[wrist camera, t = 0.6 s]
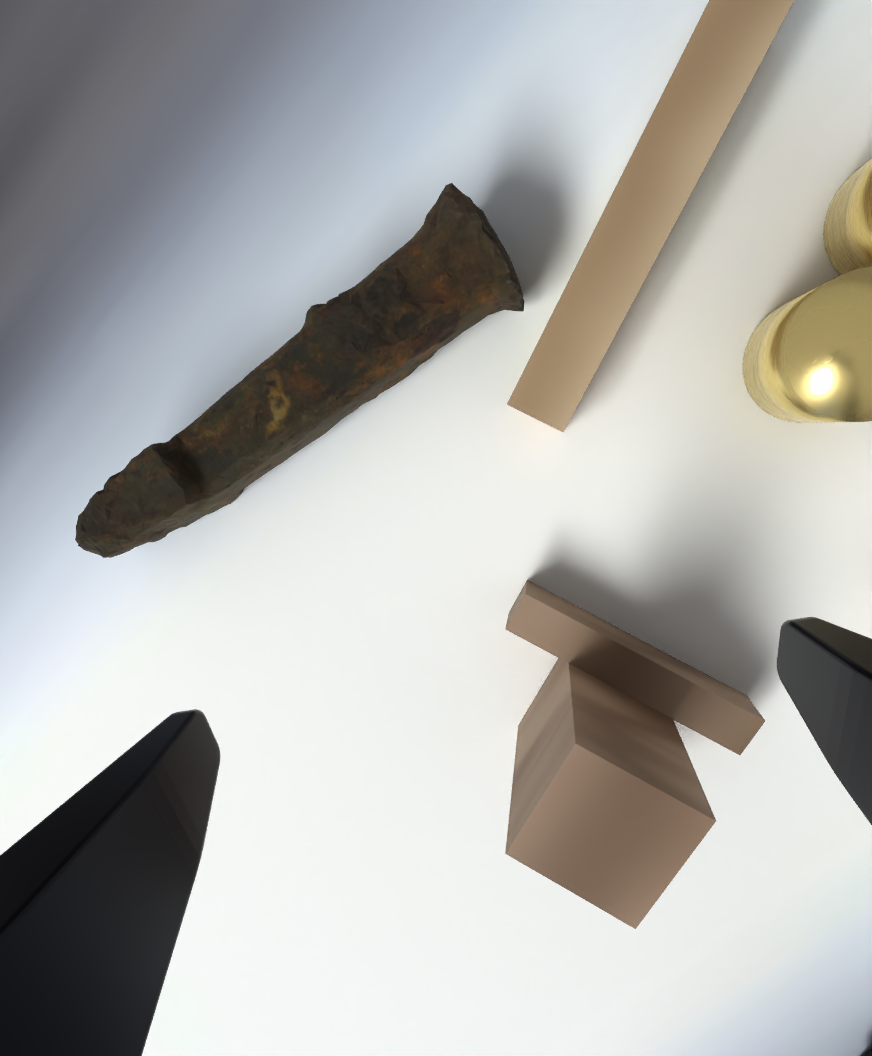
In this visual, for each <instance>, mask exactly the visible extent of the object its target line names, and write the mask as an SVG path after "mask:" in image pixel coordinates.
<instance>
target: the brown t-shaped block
mask: <svg viewBox="0 0 872 1056" xmlns="http://www.w3.org/2000/svg"><path fill="white" fill-rule="evenodd" d="M506 630H508V631H510V632H512V633H514V634H515V635H517V636H519V637H521V638H523V639H525V640H527V641H528V642H530V643H532V644H534V645H536V646H538V647H540V648H542V649H543V650H545V651H547V652H549V653H551V654H553V655H555V656H556V657H558V660H557V662H556V664H555V665H554V667H553V669H552V670H551V672H550V674H549V675H548V677H547V679H546V680H545V682H544V684H543V685H542V687H541V689H540V690H539V692H538V694H537V695H536V697H535V699H534V700H533V702H532V704H531V705H530V707H529V709H528V710H527V712H526V714H525V715H524V717H523V719H522V721H521V722H520V724H519V726H518V735H517V745H516V755H515V765H514V774H513V784H512V794H511V804H510V814H509V824H508V834H507V844H506V854H507V855H509V856H510V857H512V858H514V859H516V860H517V861H519V862H521V863H523V864H524V865H526V866H528V867H529V868H531V869H533V870H535V871H536V872H538V873H540V874H542V875H543V876H545V877H547V878H548V879H550V880H552V881H554V882H555V883H557V884H559V885H561V886H562V887H564V888H566V889H567V890H569V891H571V892H573V893H574V894H576V895H578V896H579V897H581V898H583V899H585V900H586V901H588V902H590V903H592V904H593V905H595V906H597V907H598V908H600V909H602V910H604V911H605V912H607V913H609V914H611V915H612V916H614V917H616V918H617V919H619V920H621V921H623V922H624V923H626V924H628V925H630V926H631V927H633V928H635V929H636V928H637V926H638V925H639V924H640V922H641V921H642V920H643V918H644V917H645V916H646V914H647V913H648V912H649V910H650V909H651V908H652V906H653V905H654V904H655V902H656V901H657V900H658V898H659V897H660V895H661V894H662V893H663V891H664V890H665V889H666V887H667V886H668V885H669V883H670V882H671V881H672V879H673V878H674V877H675V875H676V874H677V873H678V871H679V870H680V869H681V867H682V866H683V865H684V863H685V862H686V861H687V859H688V858H689V857H690V855H691V854H692V853H693V851H694V850H695V849H696V847H697V846H698V845H699V843H700V842H701V841H702V839H703V838H704V836H705V835H706V834H707V832H708V831H709V830H710V828H711V827H712V826H713V824H714V823H715V822H716V820H715V817H714V815H713V813H712V810H711V808H710V805H709V803H708V801H707V798H706V796H705V794H704V791H703V789H702V787H701V784H700V782H699V780H698V777H697V775H696V772H695V770H694V768H693V765H692V763H691V761H690V758H689V756H688V754H687V751H686V749H685V747H684V744H683V742H682V739H681V737H680V735H679V732H678V730H677V728H676V725H675V723H674V721H673V720H675V721H677V722H679V723H681V724H683V725H685V726H687V727H688V728H690V729H692V730H694V731H696V732H698V733H700V734H701V735H703V736H705V737H707V738H709V739H711V740H713V741H714V742H716V743H718V744H720V745H722V746H724V747H726V748H727V749H729V750H731V751H733V752H735V753H737V754H739V755H741V753H742V752H743V751H744V749H745V748H746V747H747V745H748V744H749V743H750V741H751V740H752V738H753V737H754V736H755V734H756V733H757V732H758V730H759V729H760V727H761V726H762V725H763V723H764V722H765V720H764V719H763V717H762V716H761V714H760V713H759V712H758V710H757V709H756V708H755V706H754V705H753V704H752V702H751V701H750V699H749V698H748V697H747V696H746V695H744V694H742V693H740V692H738V691H736V690H734V689H732V688H731V687H729V686H727V685H725V684H723V683H721V682H719V681H717V680H715V679H713V678H712V677H710V676H708V675H706V674H704V673H702V672H700V671H698V670H696V669H694V668H693V667H691V666H689V665H687V664H685V663H683V662H681V661H679V660H677V659H676V658H674V657H672V656H670V655H668V654H666V653H664V652H662V651H660V650H658V649H657V648H655V647H653V646H651V645H649V644H647V643H645V642H643V641H641V640H639V639H638V638H636V637H634V636H632V635H630V634H628V633H626V632H624V631H622V630H620V629H619V628H617V627H615V626H613V625H611V624H609V623H607V622H605V621H603V620H602V619H600V618H598V617H596V616H594V615H592V614H590V613H588V612H586V611H584V610H583V609H581V608H579V607H577V606H575V605H573V604H571V603H569V602H567V601H565V600H564V599H562V598H560V597H558V596H556V595H554V594H552V593H550V592H548V591H546V590H545V589H543V588H541V587H539V586H537V585H535V584H533V583H531V582H529V581H528V580H527V581H526V583H525V585H524V587H523V589H522V590H521V592H520V594H519V596H518V598H517V599H516V601H515V603H514V605H513V607H512V608H511V610H510V612H509V615H508V620H507V624H506Z"/></svg>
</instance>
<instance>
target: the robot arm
mask: <svg viewBox="0 0 872 1056" xmlns="http://www.w3.org/2000/svg"><path fill="white" fill-rule="evenodd" d="M777 670H778V674H779V677H780V679H781V681H782V683H783V685H784V687H785V689H786V690H787V692H788V694H789V695H790V697H791V699H792V701H793V702H794V704H795V706H796V708H797V709H798V711H799V713H800V715H801V716H802V718H803V720H804V722H805V723H806V725H807V727H808V729H809V730H810V732H811V734H812V735H813V737H814V739H815V741H816V742H817V744H818V746H819V748H820V749H821V751H822V753H823V755H824V756H825V758H826V760H827V761H828V763H829V765H830V766H831V768H832V769H833V771H834V773H835V774H836V776H837V777H838V778H839V780H840V781H841V783H842V784H843V786H844V787H845V789H846V790H847V791H848V793H849V794H850V796H851V797H852V798H853V800H854V801H855V803H856V804H857V805H858V807H859V808H860V810H861V811H862V812H863V814H864V815H865V817H866V818H867V819H868V821H869V822H870V823H871V825H872V639H871V638H868V637H865V636H863V635H860V634H857V633H855V632H852V631H850V630H847V629H844V628H842V627H839V626H837V625H834V624H831V623H829V622H826V621H824V620H821V619H818V618H815V617H806V618H800V619H793V620H788V621H786V622H784V623H783V625H782V626H781V630H780V639H779V648H778V657H777ZM219 764H220V750H219V746H218V743H217V741H216V739H215V737H214V735H213V732H212V730H211V728H210V726H209V723H208V721H207V719H206V717H205V715H204V713H203V712H201V711H200V710H196V709H195V710H188V711H181V712H176V713H173V714H171V715H170V716H169V717H168V718H166V719H165V720H164V721H163V722H161V723H160V724H159V725H158V726H157V727H155V728H154V729H153V730H152V731H151V732H149V733H148V734H147V735H146V736H145V737H143V738H142V739H141V740H140V741H138V742H137V743H136V744H135V745H134V746H132V747H131V748H130V749H129V750H128V751H126V752H125V753H124V754H123V755H122V756H120V757H119V758H118V759H117V760H115V761H114V762H113V763H112V764H111V765H109V766H108V767H107V768H106V769H105V770H103V771H102V772H101V773H100V774H98V775H97V776H96V777H95V778H94V779H92V780H91V781H90V782H89V783H88V784H86V785H85V786H84V787H83V788H82V789H80V790H79V791H78V792H77V793H75V794H74V795H73V796H72V797H71V798H69V799H68V800H67V801H66V802H65V803H63V804H62V805H61V806H60V807H58V808H57V809H56V810H55V811H54V812H52V813H51V814H50V815H49V816H48V817H46V818H45V819H44V820H43V821H42V822H40V823H39V824H38V825H37V826H35V827H34V828H33V829H32V830H31V831H29V832H28V833H27V834H26V835H25V836H23V837H22V838H21V839H20V840H19V841H17V842H16V843H15V844H14V845H12V846H11V847H10V848H9V849H8V850H6V851H5V852H4V853H3V854H2V855H0V1056H142V1053H143V1049H144V1046H145V1043H146V1039H147V1036H148V1033H149V1030H150V1026H151V1023H152V1020H153V1016H154V1013H155V1010H156V1006H157V1003H158V1000H159V996H160V993H161V990H162V986H163V983H164V980H165V976H166V973H167V970H168V967H169V963H170V960H171V957H172V953H173V950H174V947H175V943H176V940H177V937H178V933H179V930H180V927H181V923H182V920H183V917H184V913H185V910H186V907H187V904H188V900H189V897H190V894H191V890H192V887H193V884H194V880H195V877H196V873H197V870H198V866H199V863H200V859H201V855H202V850H203V846H204V841H205V836H206V831H207V826H208V821H209V816H210V810H211V805H212V800H213V795H214V790H215V785H216V780H217V775H218V769H219ZM866 1056H872V1050H871V1051H870V1052H869V1053H868V1054H867V1055H866Z"/></svg>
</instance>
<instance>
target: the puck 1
mask: <svg viewBox="0 0 872 1056" xmlns="http://www.w3.org/2000/svg"><path fill="white" fill-rule="evenodd" d="M743 377H744V382H745V385H746V388H747V390H748V392H749V394H750V396H751V397H752V399H753V400H754V401H755V403H756V404H757V405H758V406H759V407H760V408H762V409H763V410H764V411H765V412H767V413H769V414H770V415H772V416H774V417H776V418H779V419H781V420H785V421H789V422H798V423H809V422H865V421H872V266H870V267H865V268H860V269H856V270H853V271H850V272H847V273H845V274H843V275H840V276H838V277H836V278H834V279H832V280H830V281H828V282H826V283H824V284H822V285H821V286H819V287H817V288H815V289H813V290H811V291H809V292H807V293H805V294H803V295H801V296H799V297H797V298H795V299H793V300H791V301H789V302H788V303H786V304H784V305H782V306H780V307H778V308H777V309H775V310H774V311H773V312H771V313H770V314H769V315H768V316H767V317H766V318H764V319H763V320H762V322H761V323H760V324H759V325H758V326H757V327H756V329H755V330H754V332H753V333H752V335H751V337H750V339H749V341H748V343H747V346H746V349H745V353H744V357H743Z"/></svg>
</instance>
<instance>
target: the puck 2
mask: <svg viewBox="0 0 872 1056" xmlns="http://www.w3.org/2000/svg"><path fill="white" fill-rule="evenodd" d="M823 235H824V245H825V250H826V253H827V256H828V258H829V260H830V262H831V264H832V266H833V267H834V268H835V270H836V271H837V272H838V273H839V274H840V275H843V274H845V273H847V272H850V271H853V270H856V269H860V268H865V267H870V266H872V158H871V159H870V160H869V161H867V162H866V163H865V164H864V165H863V166H861V167H860V168H859V169H858V170H857V171H855V172H854V173H853V174H852V175H851V176H850V177H849V178H848V179H847V180H846V181H845V182H844V183H843V185H842V186H841V187H840V188H839V190H838V191H837V193H836V194H835V196H834V198H833V200H832V202H831V203H830V206H829V208H828V211H827V214H826V218H825V222H824V231H823Z"/></svg>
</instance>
